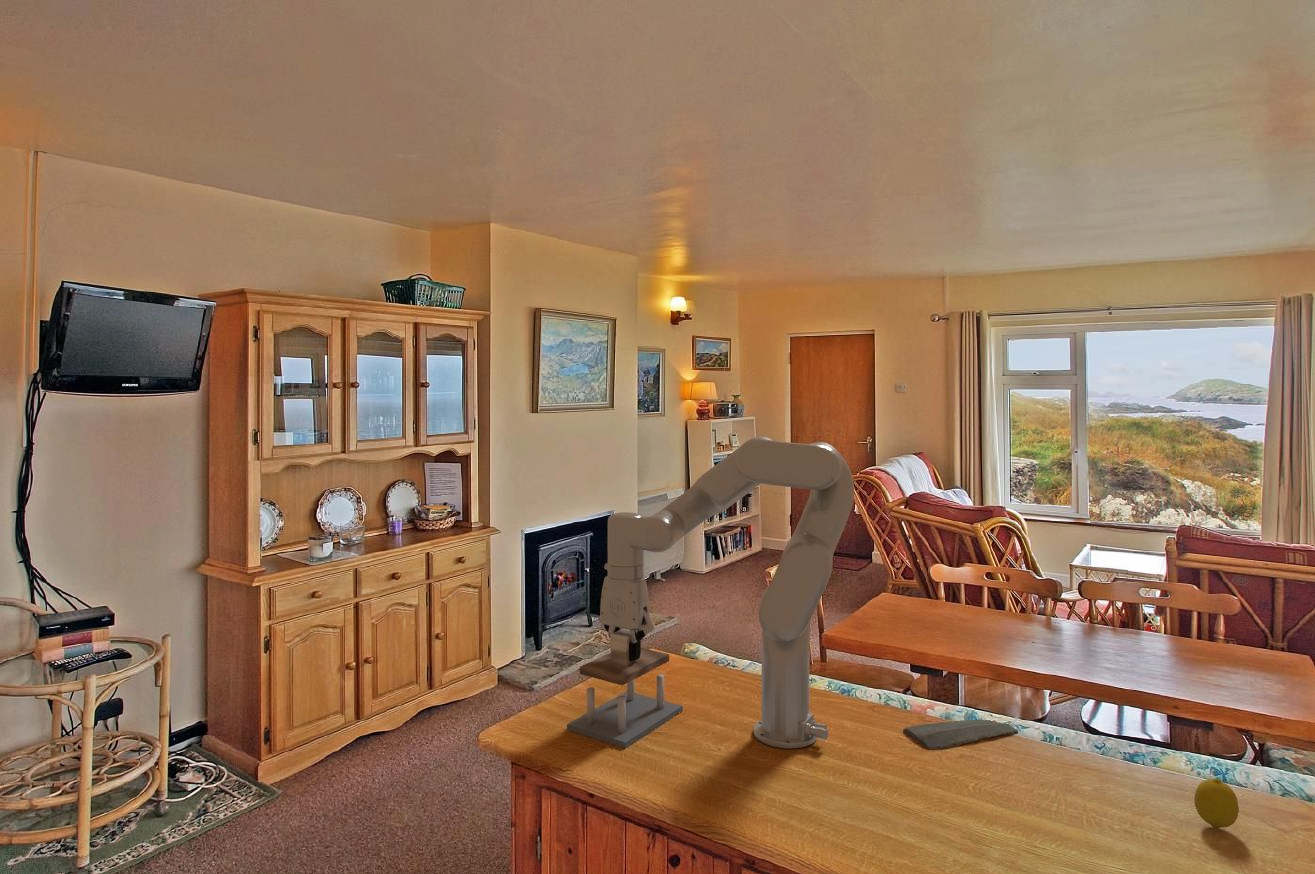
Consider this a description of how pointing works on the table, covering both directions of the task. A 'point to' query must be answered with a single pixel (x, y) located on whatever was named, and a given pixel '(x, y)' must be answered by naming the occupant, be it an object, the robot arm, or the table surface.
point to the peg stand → (625, 716)
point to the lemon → (1216, 803)
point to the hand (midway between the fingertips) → (625, 656)
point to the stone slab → (956, 732)
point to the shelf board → (621, 670)
